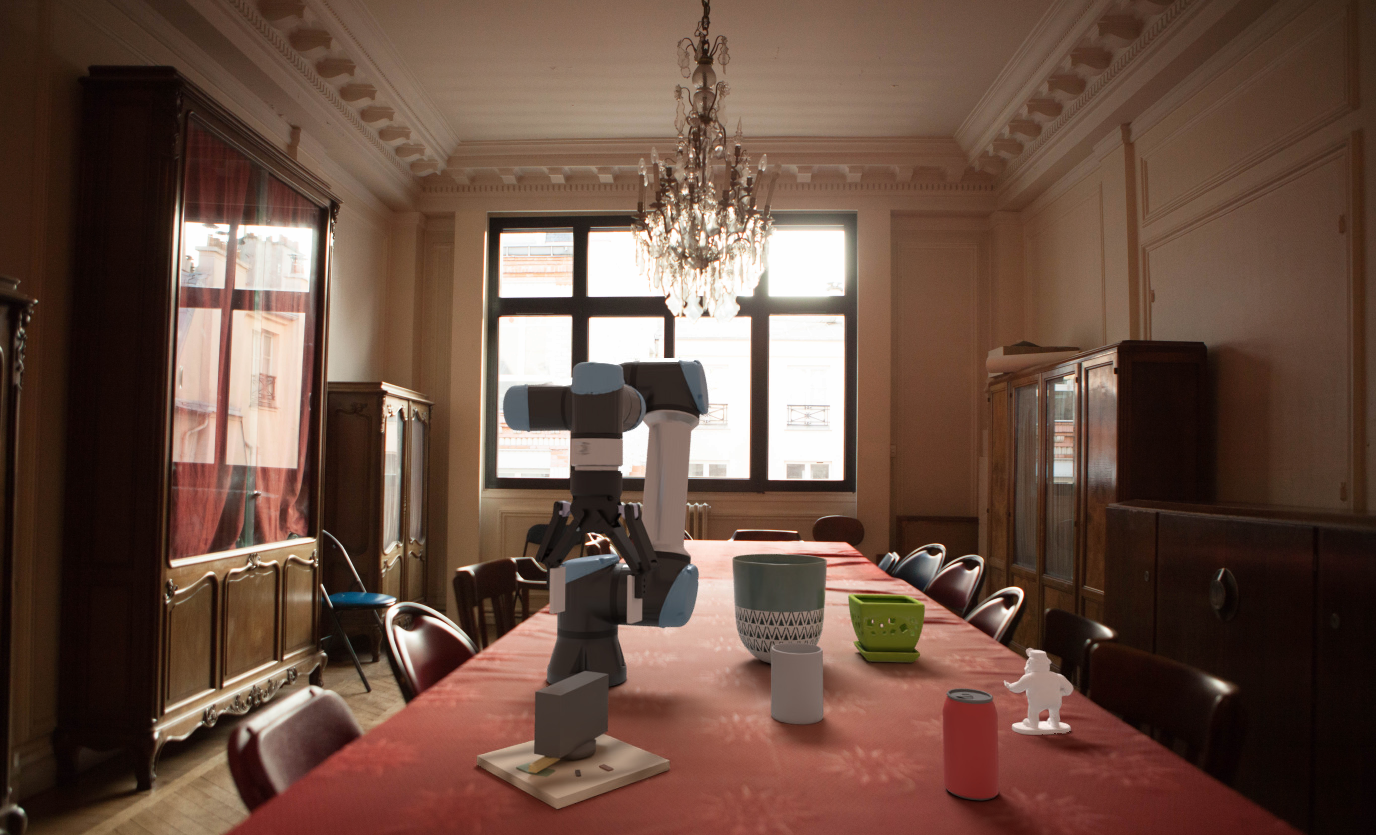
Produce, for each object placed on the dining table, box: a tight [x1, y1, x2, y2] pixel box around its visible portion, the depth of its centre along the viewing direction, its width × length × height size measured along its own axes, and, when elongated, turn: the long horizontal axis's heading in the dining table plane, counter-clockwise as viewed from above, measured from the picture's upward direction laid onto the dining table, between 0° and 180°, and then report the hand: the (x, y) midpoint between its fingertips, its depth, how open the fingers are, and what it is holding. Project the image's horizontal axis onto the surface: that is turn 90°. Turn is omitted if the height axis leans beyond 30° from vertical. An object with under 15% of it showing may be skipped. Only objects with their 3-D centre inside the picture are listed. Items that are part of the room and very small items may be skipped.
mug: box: [770, 643, 824, 725], centre depth 130 cm, size 12×8×11 cm
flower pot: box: [848, 593, 926, 664], centre depth 169 cm, size 14×14×13 cm
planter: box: [731, 553, 828, 664], centre depth 165 cm, size 20×20×21 cm
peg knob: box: [529, 671, 609, 773], centre depth 106 cm, size 15×6×9 cm, turn 155°
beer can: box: [942, 687, 1000, 801], centre depth 99 cm, size 7×7×12 cm
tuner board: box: [476, 733, 671, 810], centre depth 106 cm, size 19×18×1 cm
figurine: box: [1003, 647, 1074, 736], centre depth 123 cm, size 9×7×12 cm
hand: (594, 617), depth 113 cm, fingers open, 13 cm apart
